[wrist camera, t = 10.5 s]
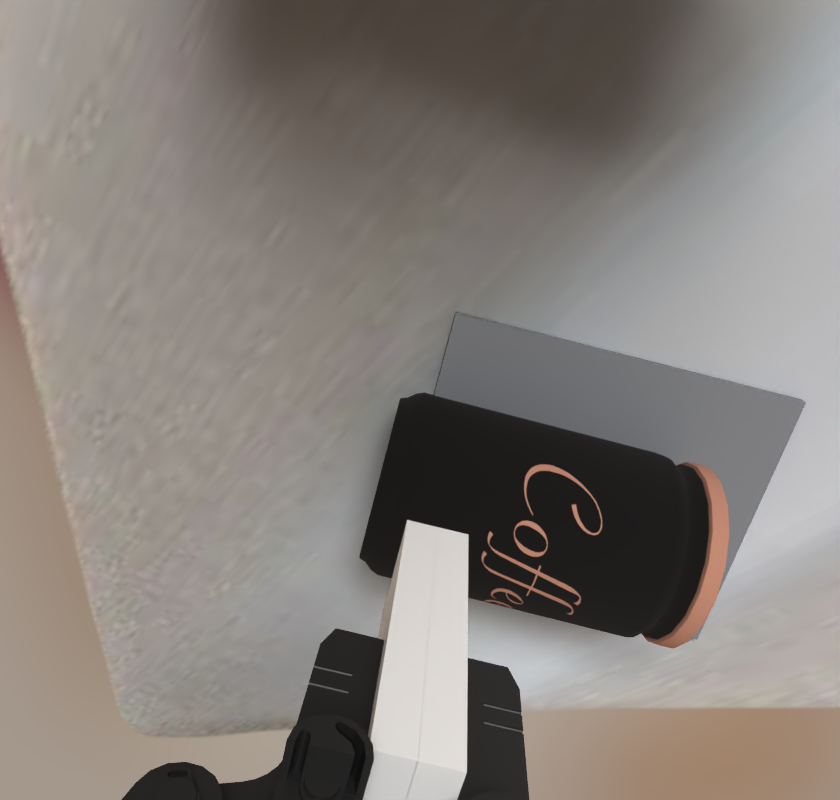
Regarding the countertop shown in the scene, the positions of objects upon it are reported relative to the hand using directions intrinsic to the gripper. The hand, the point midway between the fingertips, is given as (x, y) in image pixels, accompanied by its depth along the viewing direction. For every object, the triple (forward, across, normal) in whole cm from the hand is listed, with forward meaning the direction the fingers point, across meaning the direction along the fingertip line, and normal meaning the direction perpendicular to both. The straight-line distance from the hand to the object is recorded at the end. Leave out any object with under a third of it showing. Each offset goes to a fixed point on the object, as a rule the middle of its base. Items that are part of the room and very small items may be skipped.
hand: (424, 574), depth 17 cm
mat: (+27, +11, -9) cm, 31 cm away
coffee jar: (+21, -2, -9) cm, 23 cm away
